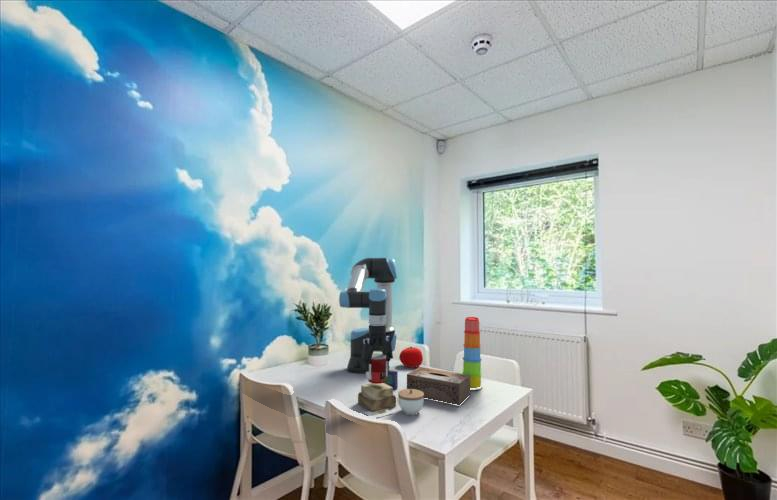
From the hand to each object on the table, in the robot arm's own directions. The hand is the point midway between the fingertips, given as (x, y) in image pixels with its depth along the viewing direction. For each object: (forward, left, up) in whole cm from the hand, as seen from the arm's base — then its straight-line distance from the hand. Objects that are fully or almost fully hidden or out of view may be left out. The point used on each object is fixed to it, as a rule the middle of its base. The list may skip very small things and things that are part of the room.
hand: (376, 377), depth 161 cm
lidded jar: (-8, +14, -12) cm, 20 cm away
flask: (-16, -15, -12) cm, 25 cm away
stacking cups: (-52, +6, -12) cm, 54 cm away
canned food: (0, 0, -2) cm, 2 cm away
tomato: (-49, -39, -12) cm, 64 cm away
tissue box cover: (-30, +6, -12) cm, 33 cm away
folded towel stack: (0, 0, -12) cm, 12 cm away
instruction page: (+4, +8, -12) cm, 15 cm away
